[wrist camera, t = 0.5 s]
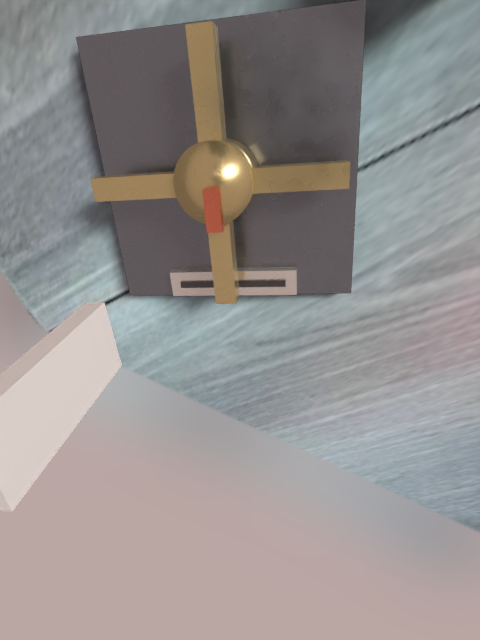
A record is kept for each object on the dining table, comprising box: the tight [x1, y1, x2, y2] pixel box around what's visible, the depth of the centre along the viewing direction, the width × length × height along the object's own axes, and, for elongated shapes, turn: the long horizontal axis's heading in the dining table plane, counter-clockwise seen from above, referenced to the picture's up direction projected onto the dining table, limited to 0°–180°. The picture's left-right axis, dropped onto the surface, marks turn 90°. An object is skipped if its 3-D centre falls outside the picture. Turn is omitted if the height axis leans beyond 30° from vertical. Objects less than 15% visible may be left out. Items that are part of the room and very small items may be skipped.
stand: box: [76, 0, 366, 296], centre depth 34 cm, size 22×22×4 cm
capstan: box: [91, 21, 350, 304], centre depth 32 cm, size 20×20×6 cm
